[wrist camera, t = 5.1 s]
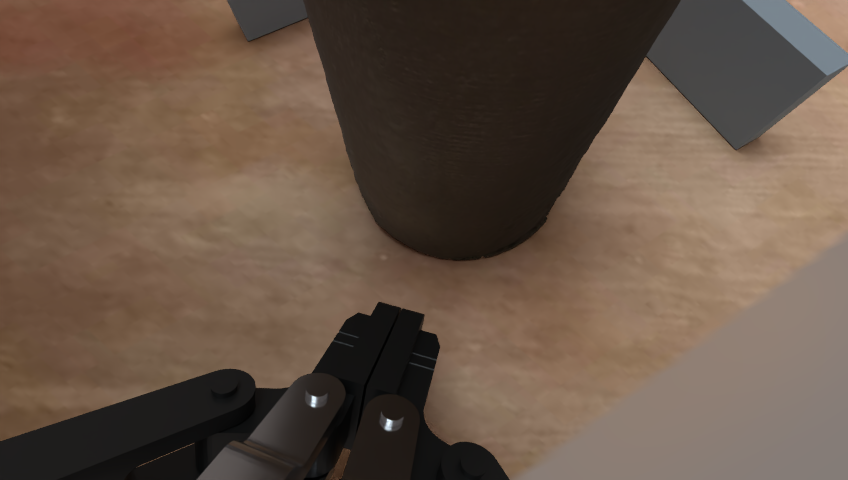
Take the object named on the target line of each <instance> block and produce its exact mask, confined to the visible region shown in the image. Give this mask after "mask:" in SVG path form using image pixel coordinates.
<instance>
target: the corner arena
mask: <svg viewBox="0 0 848 480" xmlns="http://www.w3.org/2000/svg"><path fill="white" fill-rule="evenodd" d="M227 1H228V3H229V5H230V7H231V9H232V11H233V13H234V16H235V18H236V20H237V22H238V24H239V25H240V27H241V29H242V31H243V33H244V35H245V37H246V38H247V40H248V41H251V40H253V39H256V38H258V37H260V36H263V35H265V34H268V33H270V32H273V31H275V30H278V29H280V28H283V27H285V26H288V25H290V24H293V23H295V22H297V21H300V20H302V19H305V18H307V17H308V16H307V12H306V8H305V5H304V2H303V0H227ZM646 56H647V57H648V58H649V59H650V60H651V61H652V62H653V63H654V64H655V66H656V67H657V68H658V69H659V70H660V71H661V72H662V73H663V74H664V75H665V76H666V77H667V78H668V79H669V80H670V81H671V82H672V83H673V84H674V85H675V86H676V88H677V89H678V90H679V91H680V92H681V93H682V94H683V95H684V96H685V97H686V98H687V99H688V100H689V101H690V102H691V103H692V104H693V105H694V106H695V107H696V108H697V110H698V111H699V112H700V113H701V114H702V115H703V116H704V117H705V118H706V119H707V120H708V121H709V122H710V123H711V124H712V125H713V126H714V127H715V128H716V129H717V130H718V131H719V133H720V134H721V135H722V136H723V137H724V138H725V139H726V140H727V141H728V142H729V143H730V144H731V145H732V146H733V147H734V148H735V149H736V150H737V149H739V148H740V147H742V146H744V145H746V144H747V143H749V142H751V141H753V140H754V139H756V138H758V137H760V136H761V135H762V134H763V133H765V132H766V131H767V130H768V129H770V128H771V127H772V126H773V125H775V124H776V123H777V122H778V121H780V120H781V119H782V118H783V117H785V116H786V115H787V114H788V113H790V112H791V111H792V110H794V109H795V108H796V107H797V106H799V105H800V104H801V103H802V102H804V101H805V100H806V99H807V98H809V97H810V96H811V95H812V94H814V93H815V92H816V91H817V90H819V89H820V88H821V87H822V86H824V85H825V84H826V83H827V82H829V81H830V80H831V79H832V78H834V77H835V76H836V75H837V74H839V73H840V72H841V71H842V70H844V69H845V68H846V67H847V66H848V53H847V52H845V51H844V50H843V49H842V48H841V47H840V46H838V45H837V44H836V43H835V42H834V41H833V40H831V39H830V38H829V37H828V36H827V35H826V34H824V33H823V32H822V31H821V30H820V29H818V28H817V27H816V26H815V25H814V24H813V23H811V22H810V21H809V20H808V19H807V18H806V17H804V16H803V15H802V14H801V13H800V12H799V11H797V10H796V9H795V8H794V7H793V6H792V5H790V4H789V3H788V2H787V1H786V0H681V1H680V3H679V4H678V6H677V8H676V9H675V11H674V13H673V14H672V16H671V17H670V19H669V20H668V22H667V23H666V25H665V26H664V28H663V29H662V31H661V32H660V34H659V35H658V37H657V39H656V40H655V42H654V44H653V45H652V47H651V49H650V50H649V52H648V53H647V55H646Z"/></svg>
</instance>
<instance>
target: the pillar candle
mask: <svg viewBox="0 0 848 480" xmlns="http://www.w3.org/2000/svg"><path fill="white" fill-rule="evenodd" d="M680 1H681V0H303V2H304V5H305V8H306V12H307V16H308V19H309V22H310V25H311V28H312V32H313V36H314V40H315V43H316V46H317V49H318V52H319V55H320V58H321V61H322V65H323V68H324V71H325V75H326V81H327V84H328V87H329V91H330V94H331V98H332V101H333V104H334V108H335V111H336V114H337V117H338V120H339V124H340V127H341V130H342V134H343V139H344V143H345V145H346V152H347V154H348V157H349V159H350V163H351V166H352V168H353V170H354V176H355V180H356V182H357V183H358V185H359V189H360V191H361V194H362V197H363V198H364V200H365V202H366V204H367V206H368V208H369V210H370V211H371V213H372V215H373V217H374V219H375V221H376V222H377V223H378V225H379V226H381V227H382V228H384V229H385V230H386V231H387V232H388V233H389V234H390V235H391V236H393V237H394V238H395V239H397V240H399V241H401V242H402V243H404V244H405V245H407V246H409V247H411V248H413V249H414V250H417V251H419V252H422V253H424V254H428V255H431V256H434V257H438V258H442V259H453V260H472V259H479V258H481V257H482V256H484V257H488V256H489V257H490V256H494V255H497V254H500V253H502V252H504V251H507V250H510V249H512V248H514V247H515V246H517V245H518V244H520V243H522V242H523V241H525V240H526V239H528V238H529V237H531V236H532V235H533V234H534V233H535V232H536V231H537V230H538V229H539V228H540V227H541V226H543V224H544V223H545V222H546V219H547V217H546V216H547V215H548V213H549V211H550V209H551V207H552V206H553V204H554V202H555V201H556V199H557V198H558V197H559V196H560V194H561V193H562V191H563V190H564V189H565V187H566V185H567V183H568V182H569V179H570V178H571V177H572V175H573V173H574V171H575V169H576V167H577V165H578V164H579V162H580V160H581V158H582V157H583V155H584V154H585V153H586V152H587V150H588V149H589V147H590V145H591V143H592V142H593V139H594V138H595V136H596V135H597V134H598V133H599V131H600V129H601V128H602V127H603V126H604V124H605V123H606V121H607V119H608V118H609V116H610V114H611V113H612V112H613V109H614V108H615V106H616V104H617V103H618V101H619V99H620V98H621V96H622V94H623V92H624V91H625V89H626V87H627V85H628V84H629V82H630V81H631V79H632V78H633V76H634V75H635V73H636V72H637V70H638V69H639V67H640V65H641V63H642V62H643V60H644V58H645V57H646V55H647V53H648V52H649V50H650V49H651V47H652V45H653V44H654V42H655V40H656V39H657V37H658V35H659V34H660V32H661V31H662V29H663V28H664V26H665V25H666V23H667V22H668V20H669V19H670V17H671V16H672V14H673V13H674V11H675V9H676V8H677V6H678V4H679V3H680Z"/></svg>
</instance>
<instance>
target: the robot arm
mask: <svg viewBox="0 0 848 480" xmlns="http://www.w3.org/2000/svg"><path fill="white" fill-rule="evenodd" d="M424 316H425V314H421V313H418V312H414V311H411V310H407V309H402V310H401V308H400V307H396V306H392V305H389V304H385V303H382V302H378V304H377V306H376V307H375V309H374V311H373V313H372V314H371V316H369V315H365V314H362V313H357V314H355V315H354V316H352V317H350V318H349V319H347V320H346V321H345V323H344V324H343V326H342V327H341V329H340V330H339V333H338V334H337V335H336V337H335V338H334V340H333V341H332V343H331V344H330V346H329V347H328V349H327V350H326V352H325V354H324V355H323V357H322V358H321V360H320V361H319V363H318V364H317V366H316V367H315V369H314V371H313V372H312V373H311V374H307V375H304V376H302V377H300V378H298V379H297V380H296V381H295V382H294V383H293V384H292V385H291V386H290V387H288V388H282V389H270V388H256V386H255V381H254V379H253V378H252V377H251V376H250V375H249V374H248V373H246V372H244V371H241V370H237V369H223V370H218V371H214V372H211V373H208V374H205V375H202V376H199V377H196V378H193V379H190V380H187V381H184V382H181V383H178V384H175V385H172V386H168V387H165V388H162V389H159V390H156V391H153V392H150V393H147V394H144V395H141V396H138V397H135V398H132V399H129V400H126V401H123V402H120V403H116V404H113V405H110V406H107V407H104V408H101V409H98V410H95V411H92V412H89V413H86V414H83V415H80V416H77V417H74V418H71V419H67V420H64V421H61V422H58V423H55V424H52V425H49V426H46V427H43V428H40V429H37V430H34V431H31V432H28V433H25V434H22V435H19V436H15V437H12V438H9V439H6V440H3V441H0V480H330V479H331V477H332V475H333V473H334V468H335V465H336V463H337V461H338V459H339V456H340V454H341V452H342V450H343V448H346V449H350V450H351V452H350V455H349V458H348V461H347V465H346V468H345V471H344V474H343V476H342V479H339V480H509V478H508V477H507V475H506V474H505V472H504V471H503V469H502V468H501V466H500V465H499V463H498V462H497V460H496V459H495V457H494V456H493V455H492V454H491V453H490V452H489V451H488V450H486V449H485V448H483V447H482V446H480V445H477V444H475V443H471V442H459V443H455V444H453V445H451V446H450V445H448V444H447V443H445V442H444V441H442V440H440V439H439V438H438V437H436V436H435V435H434V434H433V433H432V432H431V430H430V429H429V428H428V426H427V424H426V422H425V420H424V413H423V411H424V406H425V402H426V399H427V395H428V391H429V387H430V384H431V380H432V376H433V372H434V368H435V364H436V361H437V357H438V353H439V349H440V345H439V342H438V338H437V335H436V334H432V333H429V332H425V331H422V330H421V329H422V325H423V321H424ZM192 443H194V444H192ZM190 444H192V445H190ZM187 445H190V446H187ZM185 446H187V447H185ZM182 447H185V448H182ZM180 448H182V449H180ZM178 449H180V450H178ZM175 450H178V451H175ZM173 451H175V452H173ZM170 452H173V453H170ZM168 453H170V454H168ZM166 454H168V455H166ZM163 455H166V456H163ZM161 456H163V457H161ZM158 457H161V458H158ZM156 458H158V459H156ZM154 459H156V460H154ZM151 460H154V461H151ZM149 461H151V462H149ZM146 462H149V463H146ZM144 463H146V464H144ZM142 464H144V465H142ZM140 465H142V466H140ZM138 466H139V467H138ZM136 467H137V468H136Z"/></svg>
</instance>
